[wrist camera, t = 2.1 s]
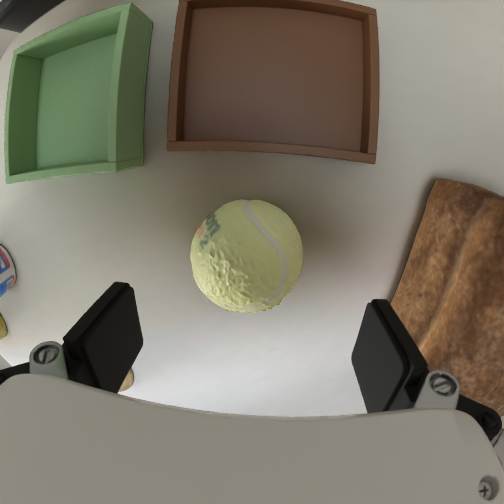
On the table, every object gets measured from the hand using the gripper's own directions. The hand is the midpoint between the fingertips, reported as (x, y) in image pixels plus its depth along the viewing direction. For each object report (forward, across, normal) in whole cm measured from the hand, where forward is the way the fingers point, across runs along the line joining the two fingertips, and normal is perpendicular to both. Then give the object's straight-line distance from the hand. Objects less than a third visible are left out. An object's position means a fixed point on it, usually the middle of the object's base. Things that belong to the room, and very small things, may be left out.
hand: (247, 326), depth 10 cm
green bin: (+10, +14, -11) cm, 20 cm away
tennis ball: (+10, 0, 0) cm, 10 cm away
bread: (+10, -26, +3) cm, 28 cm away
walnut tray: (+10, -1, -12) cm, 15 cm away
